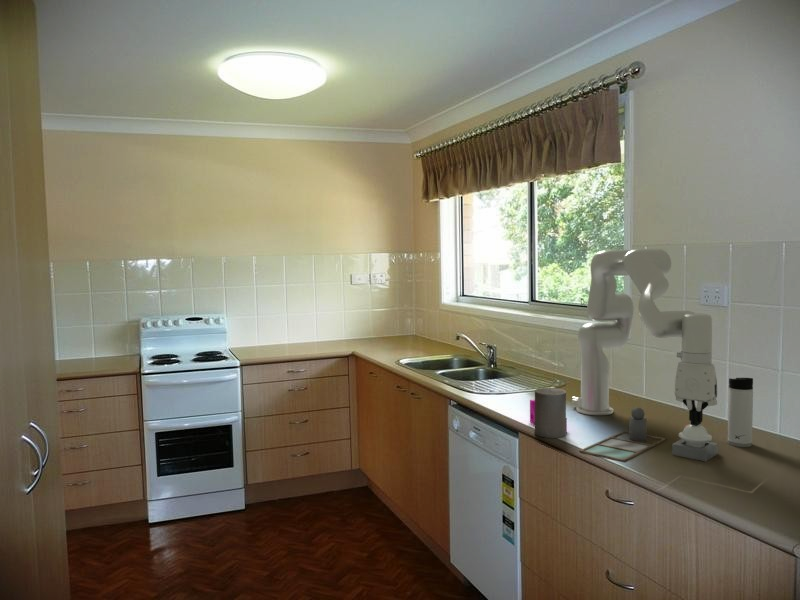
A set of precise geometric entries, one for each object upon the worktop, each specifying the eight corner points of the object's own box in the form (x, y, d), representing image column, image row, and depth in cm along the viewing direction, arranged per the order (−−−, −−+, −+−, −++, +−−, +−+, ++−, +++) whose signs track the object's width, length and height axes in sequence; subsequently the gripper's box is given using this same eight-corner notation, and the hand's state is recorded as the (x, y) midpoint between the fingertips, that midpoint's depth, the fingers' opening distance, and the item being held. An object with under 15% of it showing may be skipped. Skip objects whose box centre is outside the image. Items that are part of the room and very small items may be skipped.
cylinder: (626, 439, 193) (626, 407, 192) (633, 436, 196) (633, 404, 196) (641, 442, 190) (642, 410, 189) (648, 439, 193) (649, 407, 192)
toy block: (566, 431, 203) (566, 408, 203) (548, 433, 202) (548, 409, 201) (547, 420, 218) (547, 398, 217) (530, 421, 217) (529, 399, 216)
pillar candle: (528, 432, 203) (528, 385, 202) (553, 428, 207) (553, 382, 206) (547, 440, 194) (547, 391, 193) (572, 435, 198) (573, 388, 197)
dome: (673, 449, 178) (673, 424, 177) (685, 442, 184) (685, 418, 183) (705, 455, 172) (705, 429, 171) (716, 448, 178) (716, 423, 177)
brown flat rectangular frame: (579, 452, 182) (579, 450, 182) (624, 432, 201) (624, 430, 201) (624, 461, 172) (624, 460, 172) (666, 440, 192) (666, 438, 192)
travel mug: (740, 448, 182) (741, 379, 181) (722, 442, 189) (723, 375, 187) (758, 446, 184) (759, 377, 183) (739, 440, 190) (741, 373, 189)
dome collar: (672, 454, 178) (672, 444, 178) (684, 447, 184) (684, 437, 184) (705, 461, 172) (706, 450, 171) (717, 453, 178) (718, 443, 178)
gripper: (663, 357, 179) (663, 422, 180) (720, 362, 168) (719, 431, 169) (674, 354, 184) (673, 417, 185) (730, 359, 173) (729, 426, 175)
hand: (695, 424), depth 177 cm, fingers closed
